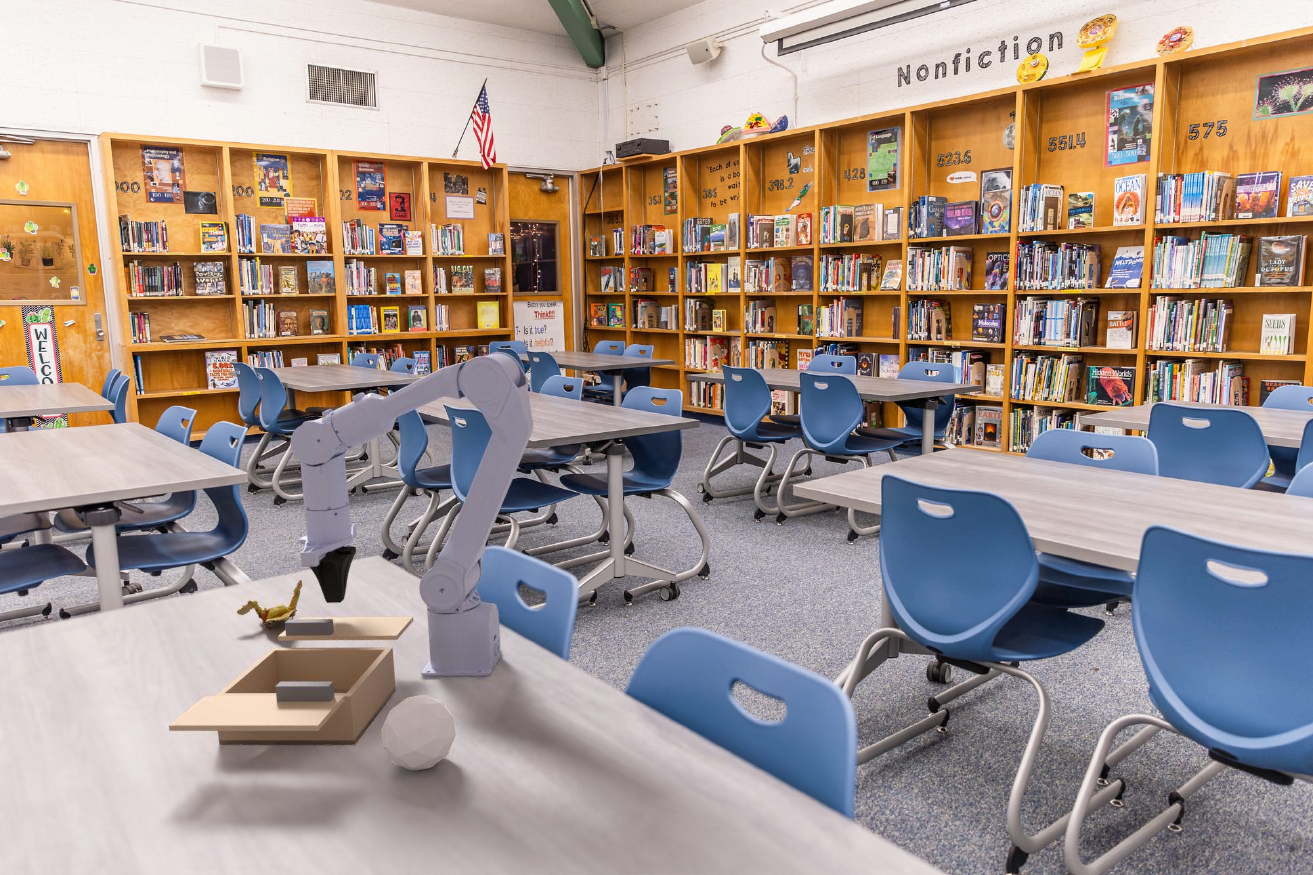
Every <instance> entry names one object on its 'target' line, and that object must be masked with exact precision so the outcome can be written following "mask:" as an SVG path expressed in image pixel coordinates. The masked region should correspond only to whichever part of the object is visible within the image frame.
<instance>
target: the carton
mask: <svg viewBox="0 0 1313 875" xmlns="http://www.w3.org/2000/svg"><path fill="white" fill-rule="evenodd" d="M280 682H333V686H334V696H344V702H343V703H342V704H341V705H340V706H339V708H338V709H337V710H336V711H335V712H334V713H333V715H332V716H331V717H330V718H329V719H328V720H327V722H326V723H325V724H324V725H323V726H322V727H321V728H320V730H319V731H217V736H218V745H219V746H356V744H357V743H358V741H359V740H360V739H361V738H362V736H363V735H364V733H366V731H367V730H368V728H369V727H370V726H371V725H372V723H373V722H374V720H375V719H376V718H377V716H378V715H379V714H380V712H382V710H383V708H384V707H385V706H386V705H387V703H389V701H390V699H391V698H392V697H393V695H394V694H395V693H396V692H397V689H396V688H397V687H396V675H395V662H394V648H393V646H391V647H390V646H387V647H382V646H381V647H373V646H372V647H367V646H366V647H363V646H361V647H272V648H270V649H269V650H268V651H267V652H266V653H264V654H263V655H262V656H261V657H259V658H258V659H257V660H256V661H255V662H254V663H253V664H251V665H250V666H248V668H246V669H245V670H244V671H243V672H242V673H240V674H239V675H238V676H237V677H236V678H234V679H233V680H232V681H231V682H230V683H229V684H227V685H226V686H225V687H223V688H222V689H221V690H220V691H218V693H216V694H215V695H214V696H276V688H275V686H276V685H277V684H278V683H280Z"/></svg>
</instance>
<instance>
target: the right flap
mask: <svg viewBox="0 0 1313 875" xmlns="http://www.w3.org/2000/svg"><path fill="white" fill-rule="evenodd" d="M412 623H414V616H346V617H344V616H340V617H339V616H335V617H334V616H326V617H321V616H320V617H319V616H317V617H311V616H310V617H307V616H306V617H304V616H303V617H299V618H293V619H292V618H288V620H287V621H284V627H285V630H283V632H281V633H280V634H279V635H278V636H277V640H278V641H397V640H398V639H399V638H400V637H401V636H402V635H403V633H405V631H406V630H407V629H408V628H409V626H410V625H412Z"/></svg>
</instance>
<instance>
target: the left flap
mask: <svg viewBox="0 0 1313 875" xmlns="http://www.w3.org/2000/svg"><path fill="white" fill-rule="evenodd" d="M275 688H276V696H215V695H205V696H203V697H202V698H201V699H199V700H198V701H196V703H194V704H193V705H192V706H191V707H189V708H188V709H187V710H186V711H184V713H182V714H181V715H180V716H179V717H177V718H176V719H174V721H173V722H171V723H170V724H168V731H169V732H177V731H178V732H181V731H182V732H189V731H190V732H203V731H204V732H207V731H208V732H216V731H217V732H218V731H319V730H320V728H321V727H322V726H323V725H324V724H325V723H326V722H327V720H328V719H329V718H330V717H331V716H332V715H333V713H334V712H335V711H336V710H337V709H338V708H339V706H340V705H341V704H342V703H343V702H344V696H334V686H333V682H280V683H278V684H277V685H276V686H275Z"/></svg>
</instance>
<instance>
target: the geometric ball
mask: <svg viewBox="0 0 1313 875" xmlns="http://www.w3.org/2000/svg"><path fill="white" fill-rule="evenodd" d="M380 732H381V737H382V744H383V748H384V750H385V752H386V754H387V755H388V756H389V758H390V760H391V762H392V763H393V765H395V766H399V767H401V768H404V769H407V770H411V771H413V772H414V771H419V770H420V771H421V770H426V769H431V768H432V767H434V766H435V765H436V764H438V763H439V762H440V761H441V760H443V759H444V758H446V757H447V755H449V752H450V750H451V749H452V748H451V747H452V746H453V743H454V740H455V738H456V735H457V733H456V728H455V721H454V716H453V714H452V713H451V711H450V710H449V709H448V708H447V706H446V704H445V703H444V702H443V701H441V700H439V699H436V698H433V697H432V696H429V695H427V694H420V695H415V696H410V697H406V698H405V699H403V700H402V701H401V702H400V703H398V704H397V705H395V706H394V707H392V708H391V709H390V710H389V712H388V714H387V716H386V718H385V720H384V723H383V725H382V727H381V729H380Z"/></svg>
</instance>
